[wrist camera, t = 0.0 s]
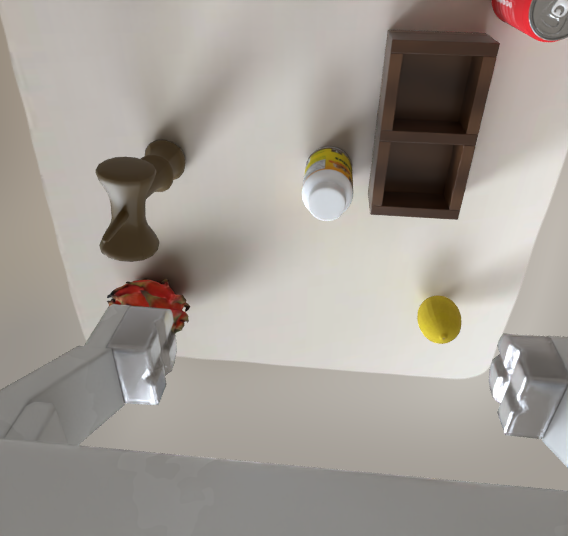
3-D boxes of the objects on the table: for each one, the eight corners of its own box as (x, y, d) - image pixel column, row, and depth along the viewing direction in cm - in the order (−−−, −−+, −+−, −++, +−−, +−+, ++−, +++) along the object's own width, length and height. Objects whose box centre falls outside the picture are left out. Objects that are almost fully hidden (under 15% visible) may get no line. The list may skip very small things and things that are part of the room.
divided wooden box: (387, 29, 52) (392, 39, 47) (485, 33, 51) (500, 43, 47) (367, 193, 62) (370, 214, 58) (449, 198, 62) (457, 219, 57)
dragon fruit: (203, 302, 76) (130, 273, 77) (199, 285, 68) (118, 253, 69) (179, 354, 74) (103, 324, 74) (172, 343, 66) (88, 309, 66)
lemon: (441, 277, 68) (451, 315, 62) (462, 303, 70) (475, 342, 64) (406, 297, 70) (413, 335, 64) (428, 321, 73) (436, 361, 66)
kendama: (143, 189, 65) (76, 278, 48) (141, 116, 59) (65, 188, 43) (189, 197, 65) (138, 288, 48) (191, 124, 59) (134, 199, 43)
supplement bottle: (359, 175, 61) (362, 215, 53) (319, 195, 63) (316, 236, 55) (339, 136, 59) (338, 171, 50) (297, 157, 61) (290, 194, 52)
